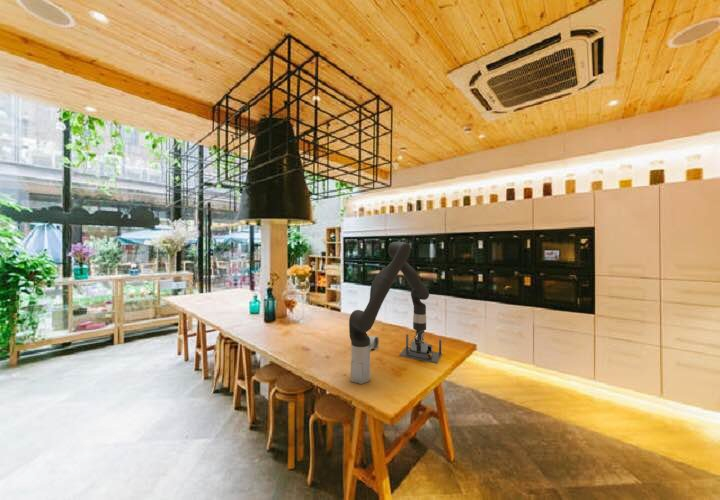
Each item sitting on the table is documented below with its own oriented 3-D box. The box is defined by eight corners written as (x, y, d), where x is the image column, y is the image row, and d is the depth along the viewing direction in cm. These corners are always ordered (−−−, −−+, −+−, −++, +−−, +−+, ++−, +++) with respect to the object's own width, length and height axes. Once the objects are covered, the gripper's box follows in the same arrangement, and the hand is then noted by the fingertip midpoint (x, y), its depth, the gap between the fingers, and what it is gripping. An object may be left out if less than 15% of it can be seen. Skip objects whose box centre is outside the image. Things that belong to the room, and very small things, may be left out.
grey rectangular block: (426, 357, 154) (426, 343, 154) (411, 355, 157) (411, 341, 158) (427, 356, 156) (427, 342, 156) (412, 353, 160) (412, 340, 160)
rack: (437, 363, 148) (437, 347, 148) (399, 356, 158) (399, 340, 158) (441, 354, 161) (441, 339, 161) (406, 348, 171) (406, 334, 171)
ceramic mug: (367, 344, 177) (367, 333, 177) (379, 347, 173) (379, 335, 172) (359, 350, 168) (359, 338, 167) (371, 352, 163) (371, 340, 163)
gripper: (423, 325, 149) (422, 355, 149) (428, 319, 161) (428, 347, 162) (409, 323, 152) (409, 353, 152) (416, 317, 165) (416, 345, 165)
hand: (419, 350), depth 157 cm, fingers open, 3 cm apart
